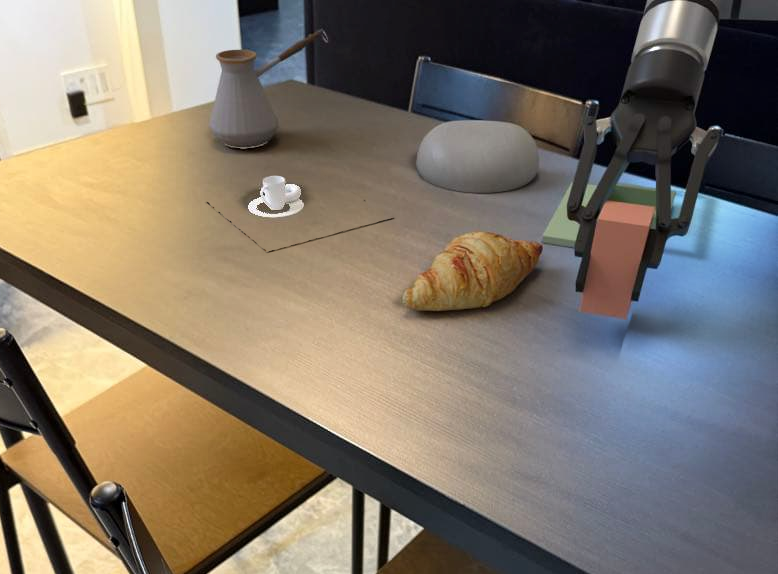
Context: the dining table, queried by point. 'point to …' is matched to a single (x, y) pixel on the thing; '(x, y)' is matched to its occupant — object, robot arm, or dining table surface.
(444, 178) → the grey dome pebble
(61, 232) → the dining table surface
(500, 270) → the croissant
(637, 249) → the foam block
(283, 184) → the teacup and saucer
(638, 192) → the socket pad
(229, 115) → the coffee pot
